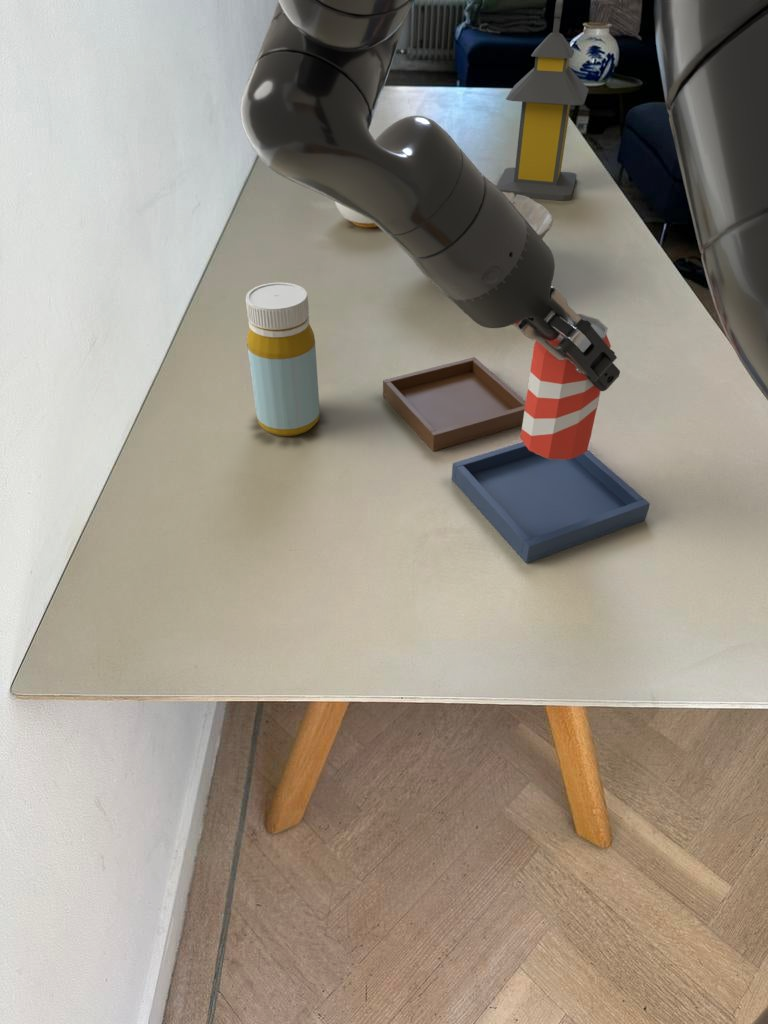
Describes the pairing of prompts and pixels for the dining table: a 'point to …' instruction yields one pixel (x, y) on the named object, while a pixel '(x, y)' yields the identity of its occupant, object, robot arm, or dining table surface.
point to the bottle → (282, 358)
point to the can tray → (547, 498)
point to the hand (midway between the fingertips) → (583, 361)
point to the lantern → (545, 121)
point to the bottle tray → (454, 403)
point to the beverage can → (559, 403)
